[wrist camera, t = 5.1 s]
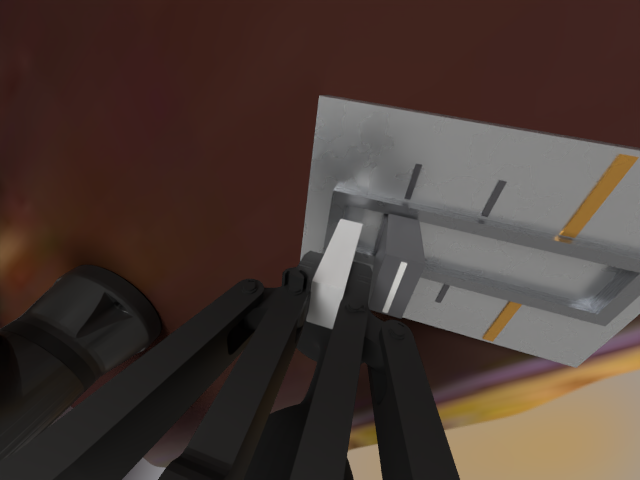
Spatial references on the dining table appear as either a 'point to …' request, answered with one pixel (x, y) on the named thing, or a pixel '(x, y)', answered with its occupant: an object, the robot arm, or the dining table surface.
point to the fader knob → (396, 265)
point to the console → (488, 221)
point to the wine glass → (290, 419)
